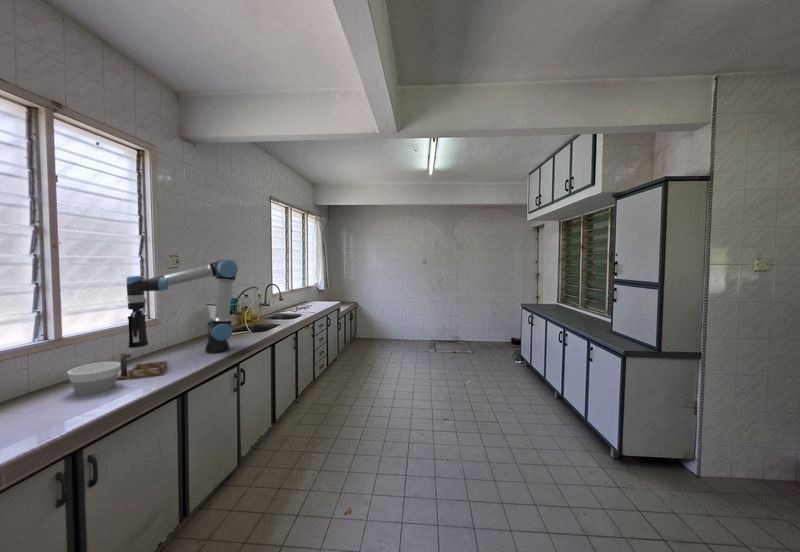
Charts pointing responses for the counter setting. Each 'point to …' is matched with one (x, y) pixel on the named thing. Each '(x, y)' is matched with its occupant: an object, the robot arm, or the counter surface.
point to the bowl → (94, 377)
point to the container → (141, 330)
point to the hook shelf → (140, 369)
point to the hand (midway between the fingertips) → (138, 340)
